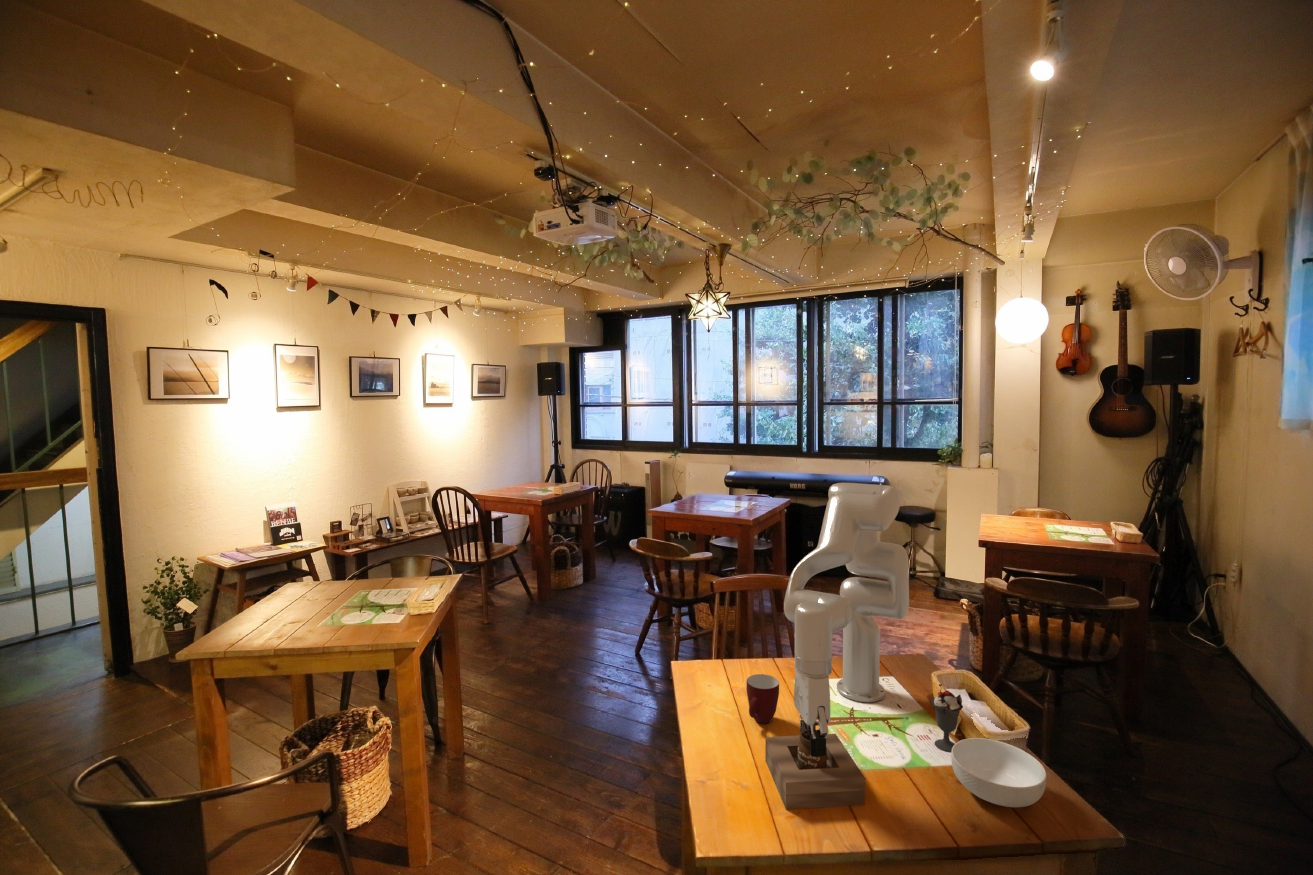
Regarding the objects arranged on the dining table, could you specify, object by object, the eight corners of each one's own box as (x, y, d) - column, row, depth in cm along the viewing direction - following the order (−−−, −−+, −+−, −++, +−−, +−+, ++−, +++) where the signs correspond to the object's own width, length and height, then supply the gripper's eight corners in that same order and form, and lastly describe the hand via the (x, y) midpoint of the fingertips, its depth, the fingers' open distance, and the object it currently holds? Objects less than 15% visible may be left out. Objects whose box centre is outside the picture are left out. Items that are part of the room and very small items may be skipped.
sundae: (926, 746, 139) (927, 683, 139) (936, 734, 144) (937, 673, 143) (956, 757, 135) (958, 692, 134) (965, 745, 140) (967, 682, 139)
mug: (770, 736, 144) (770, 696, 144) (738, 728, 148) (738, 688, 147) (782, 715, 154) (783, 677, 153) (752, 708, 157) (752, 671, 157)
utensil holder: (805, 755, 131) (805, 702, 131) (832, 766, 127) (833, 711, 127) (792, 768, 127) (792, 713, 126) (820, 780, 123) (821, 723, 122)
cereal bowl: (995, 829, 113) (996, 793, 112) (932, 776, 129) (933, 744, 128) (1066, 812, 117) (1068, 777, 117) (997, 762, 133) (998, 731, 133)
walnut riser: (765, 760, 135) (765, 737, 134) (835, 757, 136) (835, 733, 135) (785, 809, 119) (785, 782, 118) (864, 804, 120) (865, 777, 120)
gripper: (783, 646, 134) (783, 725, 135) (808, 683, 117) (808, 772, 118) (816, 645, 135) (816, 723, 136) (846, 681, 117) (845, 770, 119)
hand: (812, 745), depth 127 cm, fingers closed on utensil holder, 5 cm apart
